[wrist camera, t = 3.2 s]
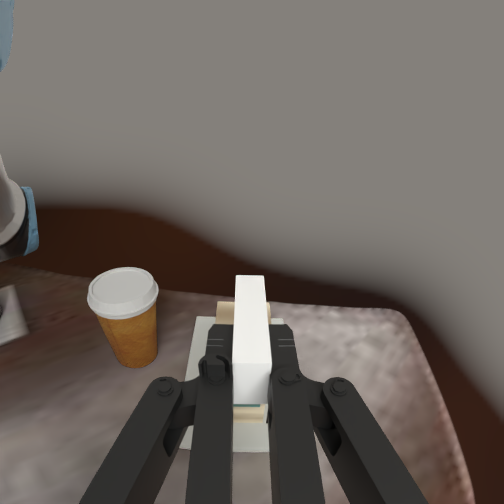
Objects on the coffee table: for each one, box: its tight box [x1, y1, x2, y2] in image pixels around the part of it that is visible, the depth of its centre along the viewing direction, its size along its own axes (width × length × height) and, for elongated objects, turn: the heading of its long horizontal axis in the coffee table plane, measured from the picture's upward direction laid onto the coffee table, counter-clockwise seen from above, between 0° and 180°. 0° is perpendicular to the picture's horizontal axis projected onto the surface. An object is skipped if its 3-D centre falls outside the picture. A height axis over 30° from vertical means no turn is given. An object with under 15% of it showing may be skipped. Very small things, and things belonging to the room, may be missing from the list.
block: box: [215, 302, 271, 423], centre depth 31 cm, size 5×5×14 cm
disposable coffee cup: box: [87, 267, 158, 368], centre depth 39 cm, size 10×10×12 cm
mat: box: [179, 316, 284, 452], centre depth 39 cm, size 24×14×1 cm, turn 1°
